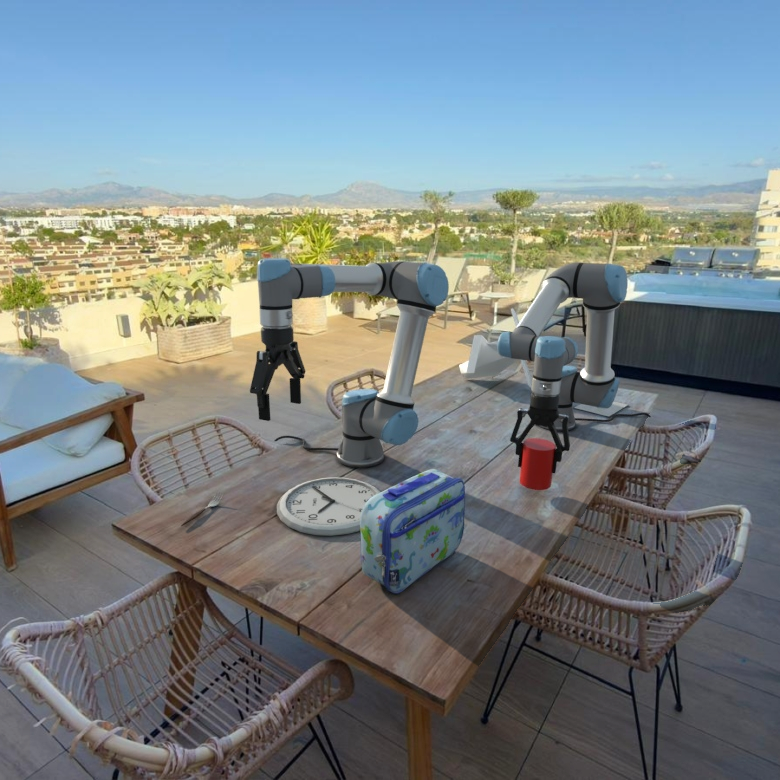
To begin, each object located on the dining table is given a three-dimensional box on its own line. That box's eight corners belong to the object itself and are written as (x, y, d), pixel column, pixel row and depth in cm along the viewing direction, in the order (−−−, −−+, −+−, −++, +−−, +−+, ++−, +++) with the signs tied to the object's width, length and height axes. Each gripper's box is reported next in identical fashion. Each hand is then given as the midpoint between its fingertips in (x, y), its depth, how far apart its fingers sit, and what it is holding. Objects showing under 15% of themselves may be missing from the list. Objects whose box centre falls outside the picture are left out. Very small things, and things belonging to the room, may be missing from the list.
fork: (176, 526, 131) (176, 519, 130) (217, 497, 145) (217, 491, 145) (185, 528, 130) (184, 521, 130) (225, 499, 145) (224, 492, 144)
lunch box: (388, 606, 105) (390, 514, 99) (353, 580, 112) (353, 493, 106) (468, 553, 123) (474, 472, 116) (433, 534, 130) (437, 457, 124)
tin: (514, 483, 150) (518, 444, 147) (527, 473, 157) (531, 435, 153) (543, 493, 145) (548, 453, 142) (555, 482, 152) (560, 443, 148)
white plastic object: (480, 421, 262) (459, 398, 238) (462, 347, 285) (440, 320, 260) (552, 397, 250) (537, 370, 226) (527, 322, 272) (511, 290, 248)
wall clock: (392, 527, 129) (268, 531, 127) (391, 533, 130) (269, 537, 127) (383, 473, 158) (282, 475, 155) (383, 478, 158) (282, 480, 156)
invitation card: (608, 416, 214) (573, 407, 224) (608, 416, 214) (573, 408, 224) (628, 404, 229) (594, 396, 238) (628, 405, 229) (594, 397, 238)
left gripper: (258, 337, 111) (263, 430, 117) (317, 319, 133) (319, 398, 139) (229, 333, 113) (236, 425, 120) (292, 317, 136) (295, 394, 142)
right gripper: (503, 391, 144) (496, 466, 150) (586, 402, 136) (575, 480, 143) (508, 384, 150) (501, 456, 157) (587, 394, 143) (577, 469, 149)
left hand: (280, 411), depth 130 cm, fingers open, 13 cm apart
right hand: (536, 468), depth 150 cm, fingers closed on tin, 9 cm apart
